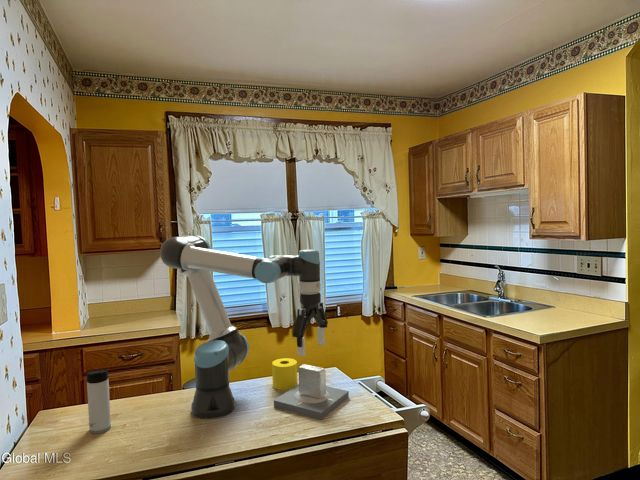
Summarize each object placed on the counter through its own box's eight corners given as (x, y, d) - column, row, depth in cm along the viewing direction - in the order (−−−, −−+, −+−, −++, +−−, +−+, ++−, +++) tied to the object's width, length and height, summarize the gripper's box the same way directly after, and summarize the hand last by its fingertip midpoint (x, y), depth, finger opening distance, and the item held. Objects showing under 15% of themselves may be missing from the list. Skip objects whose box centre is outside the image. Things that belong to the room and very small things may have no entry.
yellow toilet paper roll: (302, 384, 177) (301, 361, 176) (285, 392, 169) (285, 368, 168) (284, 378, 183) (283, 356, 182) (267, 386, 175) (266, 363, 174)
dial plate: (273, 406, 156) (273, 399, 156) (304, 387, 173) (304, 380, 173) (321, 420, 146) (321, 412, 146) (348, 397, 163) (348, 390, 163)
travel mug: (89, 436, 138) (86, 375, 136) (89, 427, 143) (86, 368, 142) (111, 431, 140) (108, 371, 139) (110, 422, 146) (107, 365, 145)
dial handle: (299, 393, 160) (298, 367, 159) (304, 390, 163) (303, 364, 163) (320, 398, 155) (320, 371, 155) (326, 395, 158) (325, 368, 158)
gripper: (299, 299, 144) (301, 362, 146) (335, 287, 165) (337, 342, 167) (281, 297, 148) (283, 358, 149) (319, 286, 169) (320, 339, 171)
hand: (311, 349), depth 158 cm, fingers open, 13 cm apart
